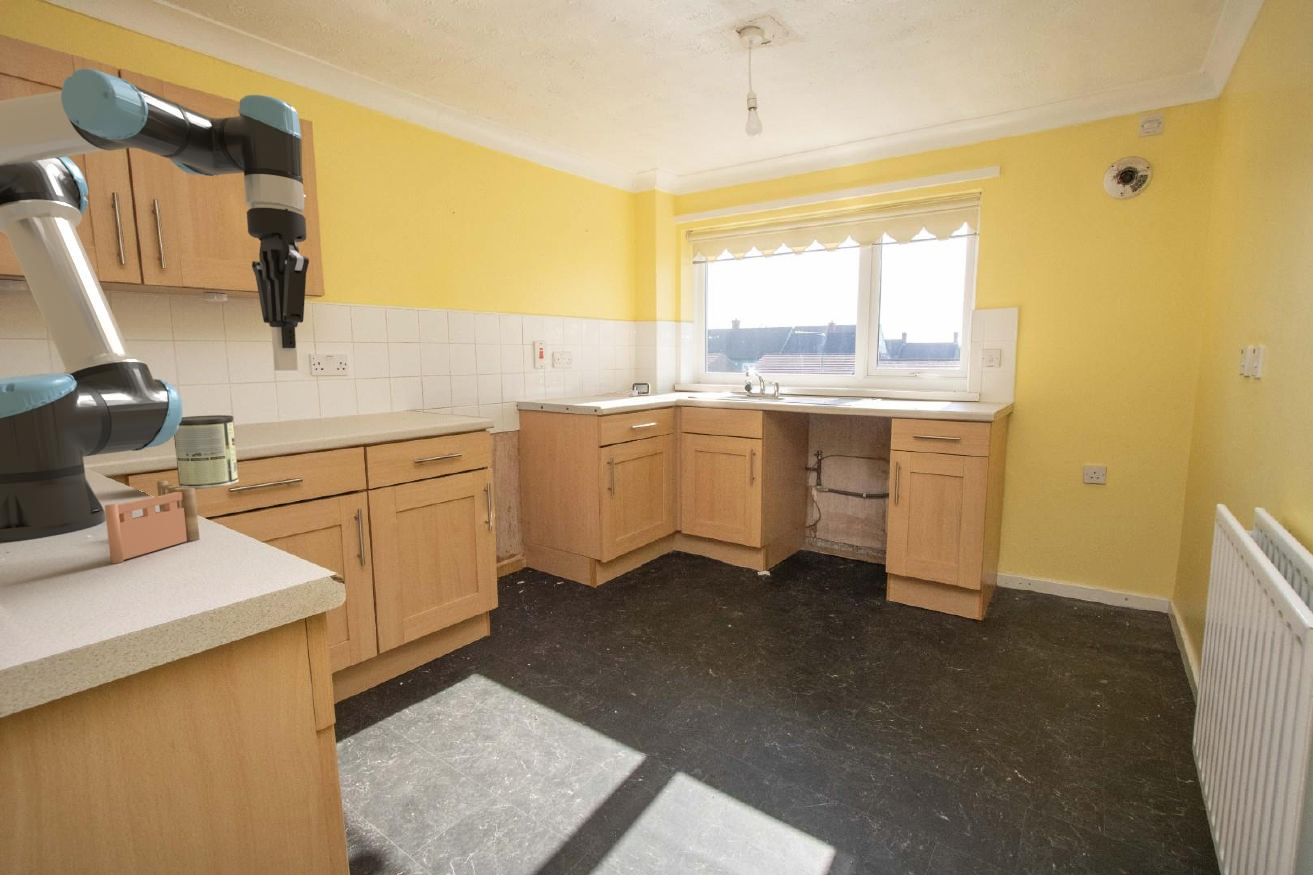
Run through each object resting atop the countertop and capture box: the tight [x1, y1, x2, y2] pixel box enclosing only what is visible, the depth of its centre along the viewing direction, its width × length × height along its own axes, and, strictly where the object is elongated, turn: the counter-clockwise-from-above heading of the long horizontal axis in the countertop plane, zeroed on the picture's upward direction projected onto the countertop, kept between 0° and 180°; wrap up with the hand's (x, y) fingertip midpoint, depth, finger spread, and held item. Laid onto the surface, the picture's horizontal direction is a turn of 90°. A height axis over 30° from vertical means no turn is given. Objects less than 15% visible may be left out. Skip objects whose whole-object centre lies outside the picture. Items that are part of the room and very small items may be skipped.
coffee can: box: [173, 414, 240, 490], centre depth 129 cm, size 10×10×14 cm
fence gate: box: [104, 492, 187, 565], centre depth 79 cm, size 9×1×7 cm, turn 168°
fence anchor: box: [156, 480, 201, 543], centre depth 88 cm, size 11×2×8 cm, turn 55°
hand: (286, 370), depth 96 cm, fingers closed
